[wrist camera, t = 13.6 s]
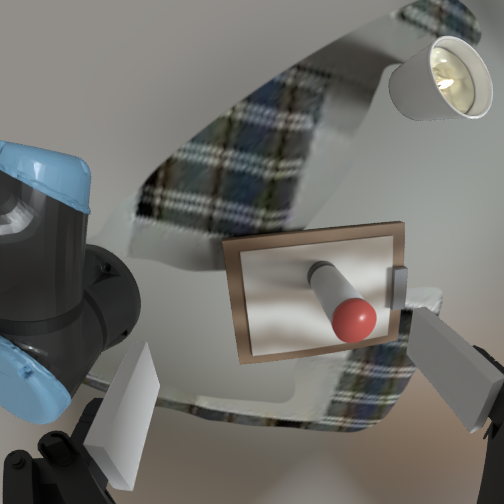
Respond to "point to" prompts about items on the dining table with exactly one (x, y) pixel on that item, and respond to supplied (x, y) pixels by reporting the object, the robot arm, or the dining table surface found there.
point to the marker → (341, 303)
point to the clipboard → (301, 294)
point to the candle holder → (442, 83)
